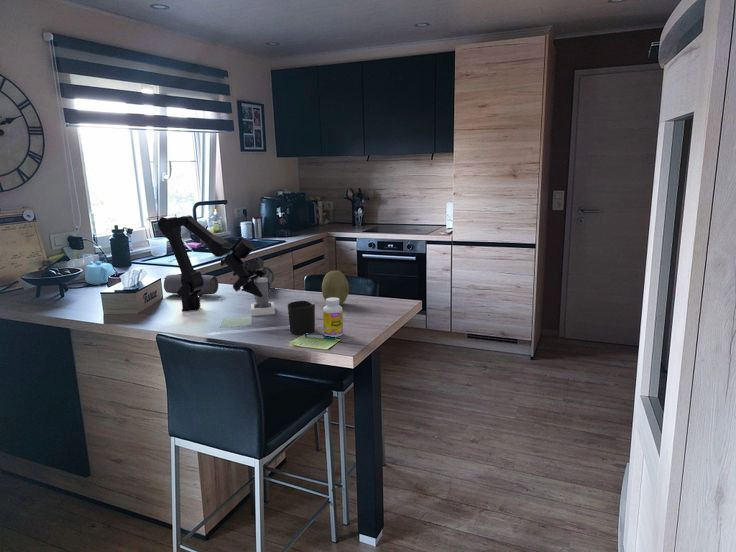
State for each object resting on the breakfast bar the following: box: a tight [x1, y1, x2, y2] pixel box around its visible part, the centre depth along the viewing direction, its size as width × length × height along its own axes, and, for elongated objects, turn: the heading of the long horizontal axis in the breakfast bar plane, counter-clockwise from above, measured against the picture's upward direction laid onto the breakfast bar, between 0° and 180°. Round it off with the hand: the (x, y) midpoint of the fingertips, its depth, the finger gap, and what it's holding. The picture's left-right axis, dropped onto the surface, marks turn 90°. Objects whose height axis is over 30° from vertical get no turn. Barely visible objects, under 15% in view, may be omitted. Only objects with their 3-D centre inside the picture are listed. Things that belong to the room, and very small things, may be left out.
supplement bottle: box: [322, 297, 344, 338], centre depth 173 cm, size 7×7×13 cm
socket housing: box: [250, 301, 276, 317], centre depth 201 cm, size 9×9×4 cm
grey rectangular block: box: [254, 278, 270, 308], centre depth 200 cm, size 5×5×13 cm
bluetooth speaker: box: [163, 273, 219, 297], centre depth 232 cm, size 23×9×10 cm, turn 80°
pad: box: [220, 316, 253, 328], centre depth 189 cm, size 11×11×1 cm
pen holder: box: [287, 300, 316, 336], centre depth 178 cm, size 9×9×10 cm
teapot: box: [84, 260, 116, 286], centre depth 262 cm, size 12×18×12 cm
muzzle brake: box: [253, 265, 275, 297], centre depth 237 cm, size 10×28×10 cm, turn 7°
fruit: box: [321, 269, 350, 306], centre depth 211 cm, size 11×11×15 cm
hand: (265, 294), depth 199 cm, fingers closed on grey rectangular block, 5 cm apart
